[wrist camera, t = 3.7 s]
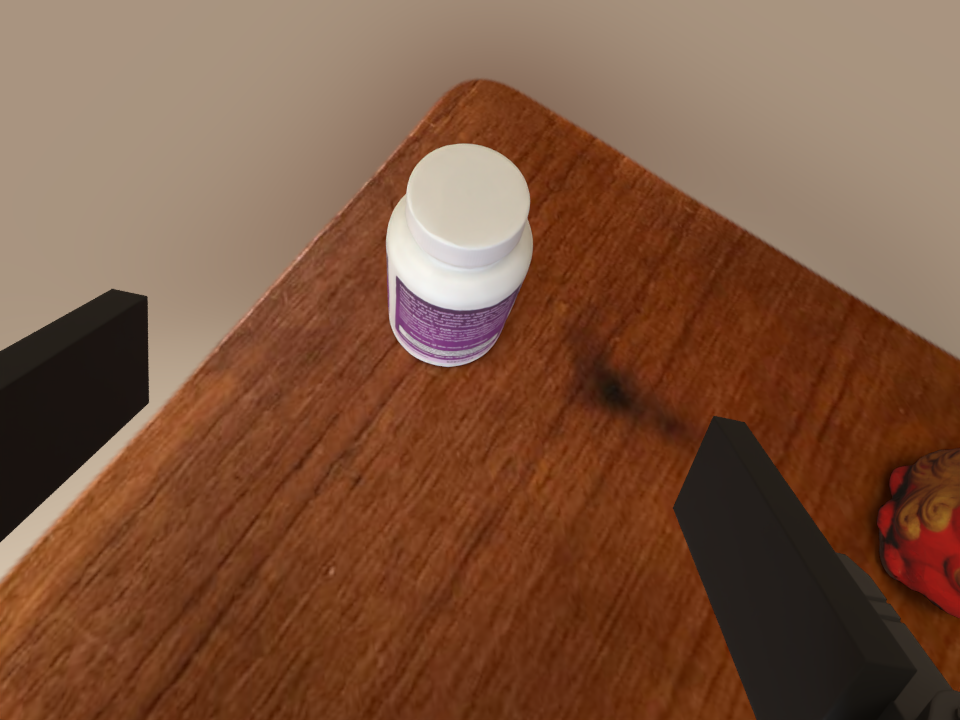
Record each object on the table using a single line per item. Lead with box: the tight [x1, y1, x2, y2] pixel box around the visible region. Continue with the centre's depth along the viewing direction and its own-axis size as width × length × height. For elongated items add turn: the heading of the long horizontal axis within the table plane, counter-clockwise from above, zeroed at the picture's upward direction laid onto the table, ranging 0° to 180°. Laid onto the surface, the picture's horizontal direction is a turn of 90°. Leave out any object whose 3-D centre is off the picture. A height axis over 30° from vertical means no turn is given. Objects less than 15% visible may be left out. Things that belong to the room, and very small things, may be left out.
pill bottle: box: [386, 144, 533, 367], centre depth 24 cm, size 5×5×10 cm
